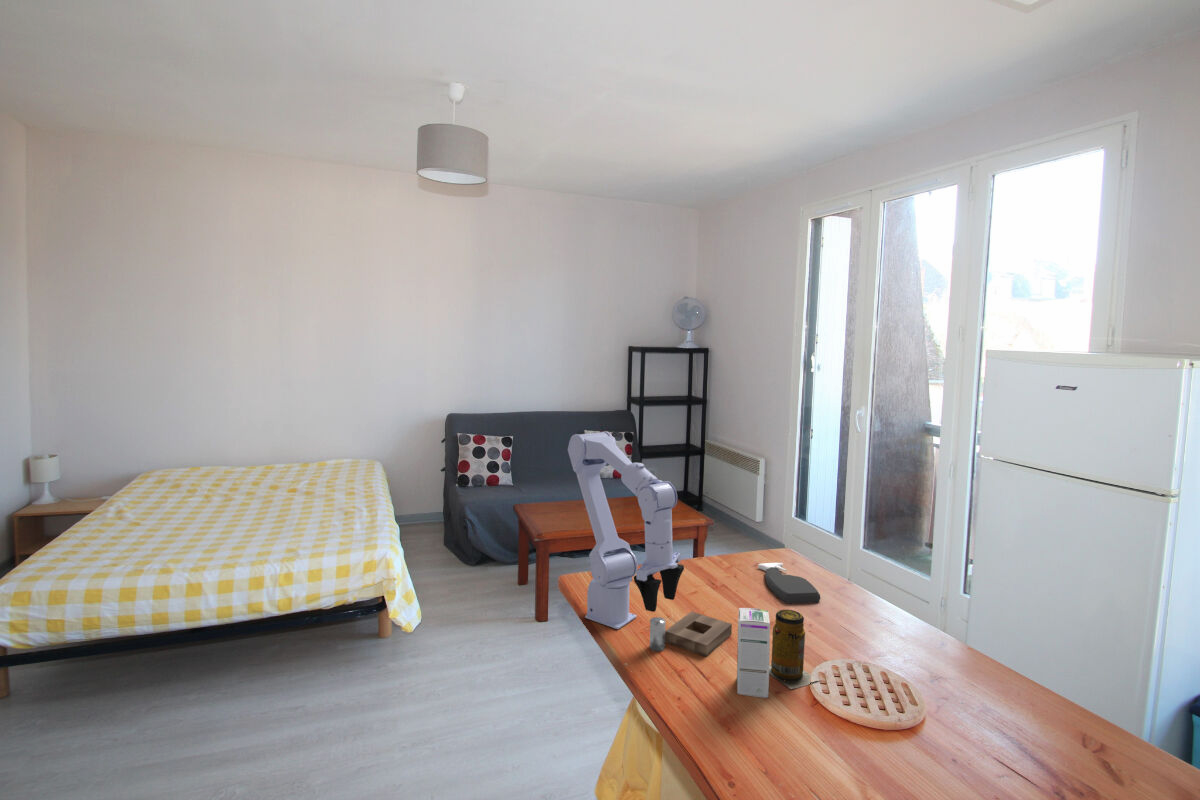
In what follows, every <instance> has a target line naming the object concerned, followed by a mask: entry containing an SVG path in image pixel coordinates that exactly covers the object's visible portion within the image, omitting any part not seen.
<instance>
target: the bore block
mask: <svg viewBox="0 0 1200 800" xmlns="http://www.w3.org/2000/svg"><path fill="white" fill-rule="evenodd" d="M732 627H733V624H732V623H730V622H727V621H724V620H720V619H717V618H713V617H711V616H707V615H704V614H700V613H697V612H694V611H690V612H689V613H687V614H686V615H684V616H683V617H682V618H680V619H679V620H678V621H677V622H676V621H675V623H674V624H672V625H671V626H670V627H668V628H667V629H665V644H670V645H671V646H675V647H678V648H680V649H683V650H686V651H689V652H692V653H695V654H697V655H699V656H700V655H701V656H703V657H706V658H707V657H709V655H710V654H711V653H713V652H714V651H715V650H716V649H717V648H718V647H719V646H721V644H723V643H724V642H725V641H726V640H727V639H729V637H731V636H732V632H733V628H732Z"/></svg>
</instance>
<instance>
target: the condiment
mask: <svg viewBox="0 0 1200 800" xmlns="http://www.w3.org/2000/svg"><path fill="white" fill-rule="evenodd" d="M774 620H775V621H774V622H775V623H774V625H773V627H772V641H771V644H772V646H771V661H770V663H771V664H769V676H771V677H772V678H774V679H775V680H778V681H779V682H780V683H781V684H783V685H784V686H786V687H787V688H788V689H790V690H792V689H798V688H802V687H804V686H809V685H811V684H810V678H811V675H812V674H810V673H809V672H807V671H806V670H804V665H805V663H804V660H805V659H804V658H805V642H806V630H805V629H804V628H805V627H804V626H805V624H804V621H805V618H804V616H803V614H802V613H801V612H799V611H796V610H792V609H779V610H778V611H776V613H775V619H774Z"/></svg>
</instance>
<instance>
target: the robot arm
mask: <svg viewBox="0 0 1200 800" xmlns="http://www.w3.org/2000/svg"><path fill="white" fill-rule="evenodd" d="M616 441H617V440H616V437H614V436H612V434H611V433H610V432H609V431H607V430H605V431H604V430H603V431H600V432H599V431H598V432H590V433H580V434H577V433H575V434H573V435H572V436H571V437H570V440H569V442H568V447H567V453H568V456H569V459H570V463H571V466H572V470H573V472H574V473H575V474H576V477H577V481H578V484H579V488H580V491H581V495H582V498H583V502H584V505H585V509H586V512H587V515H588V519H589V522H590V526H591V529H592V533H593V536H594V539H595V545H594V547H593V548H592V550H591V551H590V553H589V554H588V556H589V562H590V573H591V576H592V579H591V580H590V582H589V584H588V587H587V593H586V595H587V598H586V599H587V601H586V602H587V605H586V607H587V608H586V609H587V611H586V612H587V613H586V614H585V616H584V618H585V619H588V620H590V621H593V622H596V623H598V624H602V625H604V626H607V627H610V628H612V629H615V630H619V629H621V628H622V627H623V626H625V625H627V624H629V623H630V622H632V621H634V619H636V618H637V614H635V613H631V612H630V584H631V582H633V581H634V584H635V585H636V586H637V589H638V590H639V592H640V594H641V595H640V596H641V598H642V601H643V606H644V608H645V611H649V612H653V613H655V612H656V610H657V605H658V595H659V594H658V593H659V588H660V585H661V583H662V591H663V592H662V593H663V598H664V599H667V600H671V601H673V600H675V598H676V593H677V587H678V584H679V580H680V578H681V576H682V573H683V572H684V570H685V566H684V565H683V564H680V563H681V552H675V551H673V550H674V549H673V547H674V546H673V514H672V513H673V512H672V509H673V508H675V507H676V505H677V504H678V493H677V489H676V487H675V486H674V485H673V483H672V482H671V481H668V480H665V481H663V480H662V479H658V477H656V476H655V475H654V474H653V473H651V471H649V470H648V469H647V468H646V467H645V464H643V463H642V462H632V461H631V460H630V459H629V457H627V455H626V454H625V453H624V452H623V451H622V450H621V448H619V447H618V446H617V442H616ZM607 464H608V465H609V466H610V467H611V468H612V469H614V471H617V473H619V474H620V475H621V476H620V477H621V479H620V480H621V483H623V485H624V486H625V487H626V488H627V489H628V490H629V491H631V492H632V493H633V494H634V495H635V496H636V498H637V503H638V505H639V508H640V511H641V518H642V520H643V521H644V550H645V551H644V552H645V554H644V557H645V560H644V562H643V563H642V564H641V566H640V567H639V568H638V559H637V557H636V555H635V554H634V553H633V551H632V549H631V547H630V543H629V542H627V541H625V540H624V539H622V538H620V537H619V536H618V532H617V529H616V526H615V522H614V519H613V516H612V513H611V509H610V506H609V502H608V499H607V496H606V492H605V488H604V486H603V482H602V479H601V476H600V473H601V471H602V470H603V469H605V467H606V466H607ZM657 573H659V574H660V577H661V579H658V578H655V576H654V575H655V574H657Z"/></svg>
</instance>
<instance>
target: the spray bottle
mask: <svg viewBox="0 0 1200 800" xmlns="http://www.w3.org/2000/svg"><path fill="white" fill-rule="evenodd" d="M757 567H758V568H757V569H759V570H763V571H764V572H765V573H764V575H765V577H764V578H765V582H766V585H767V587H768V589H770V591H771V592H772V593H773V594H774V595H775V596H776V597H777V598H778V599H779V600H781V601H782V602H783V603H785V604H789V605H790V604H792V605H794V604H816V603H819V602H820V600H821V593H819V591H818V590H817V588H816V587H815V586H814V585H813V584H812V583H811V582H810V581H808V580H807V579H806V578H804V577H801V576H798V575H791V574H783V573H782V572H781V571H783V572H787V571H788V570H787V569H785V568H784V563H783V562H767V563H766V562H765V563H758V564H757Z"/></svg>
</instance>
